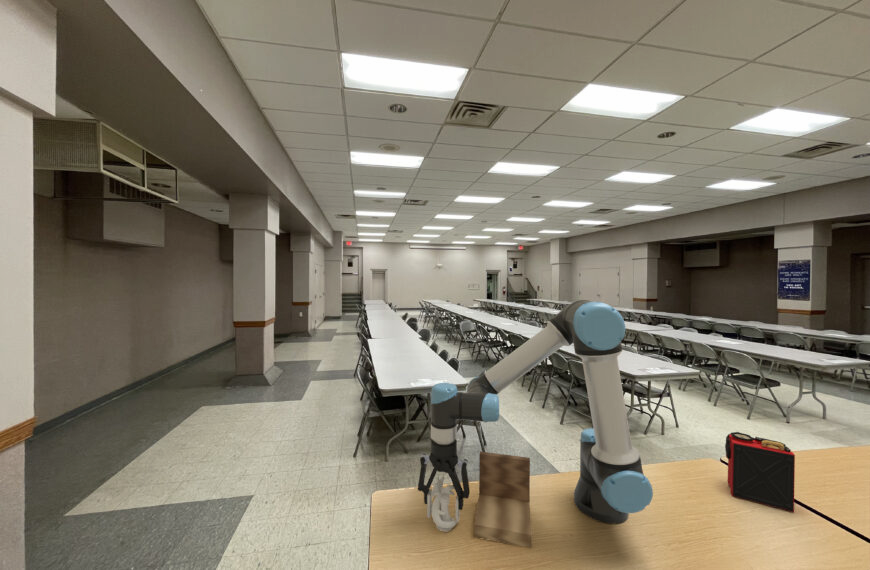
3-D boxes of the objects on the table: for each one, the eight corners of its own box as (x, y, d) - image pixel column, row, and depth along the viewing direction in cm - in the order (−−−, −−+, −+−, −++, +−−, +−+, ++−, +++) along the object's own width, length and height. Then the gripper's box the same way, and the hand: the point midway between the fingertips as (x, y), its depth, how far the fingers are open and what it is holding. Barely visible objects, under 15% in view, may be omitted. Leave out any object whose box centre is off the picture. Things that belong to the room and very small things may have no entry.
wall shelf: (529, 510, 100) (529, 457, 100) (531, 548, 86) (532, 487, 86) (479, 502, 104) (480, 451, 104) (474, 537, 90) (474, 478, 89)
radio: (784, 496, 108) (785, 435, 108) (796, 514, 99) (798, 448, 99) (721, 480, 116) (722, 423, 116) (727, 496, 108) (728, 435, 108)
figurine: (458, 534, 91) (458, 490, 90) (430, 535, 90) (430, 492, 90) (452, 507, 101) (453, 468, 101) (427, 508, 101) (427, 469, 101)
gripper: (480, 436, 97) (480, 514, 97) (413, 429, 101) (413, 502, 102) (477, 449, 89) (477, 533, 90) (405, 440, 94) (405, 519, 94)
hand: (443, 516), depth 96 cm, fingers closed on figurine, 8 cm apart
